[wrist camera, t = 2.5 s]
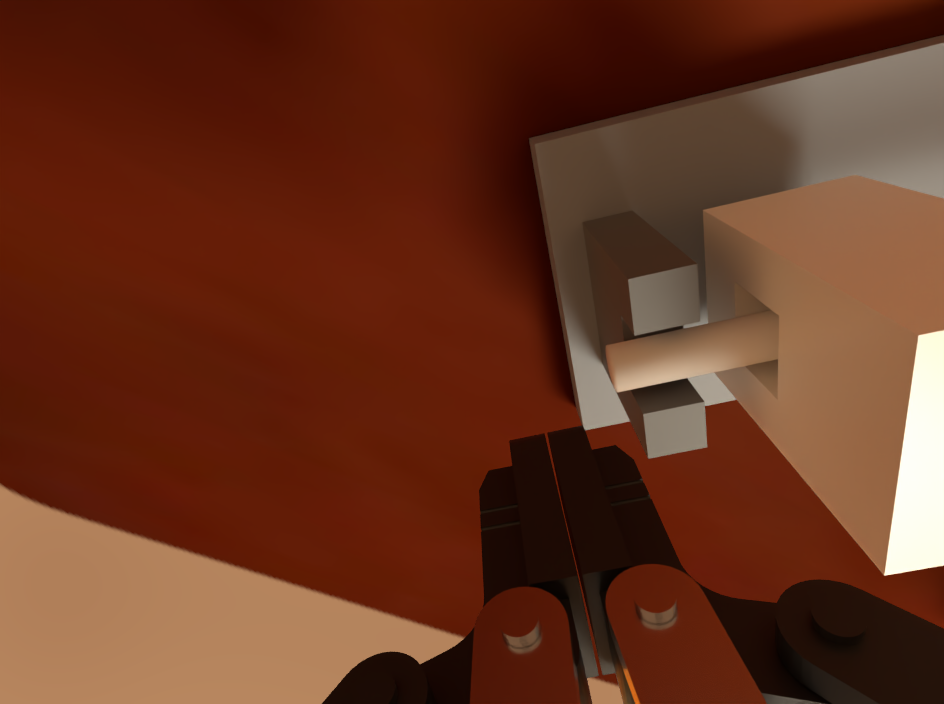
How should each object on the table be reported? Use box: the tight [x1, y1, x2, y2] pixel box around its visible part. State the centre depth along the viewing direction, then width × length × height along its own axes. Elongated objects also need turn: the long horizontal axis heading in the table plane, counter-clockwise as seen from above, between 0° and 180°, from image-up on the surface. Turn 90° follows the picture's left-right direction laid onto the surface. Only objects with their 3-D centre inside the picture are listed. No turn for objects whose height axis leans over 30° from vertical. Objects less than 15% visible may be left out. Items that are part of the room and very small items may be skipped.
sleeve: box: [703, 175, 944, 576], centre depth 13 cm, size 5×4×8 cm
